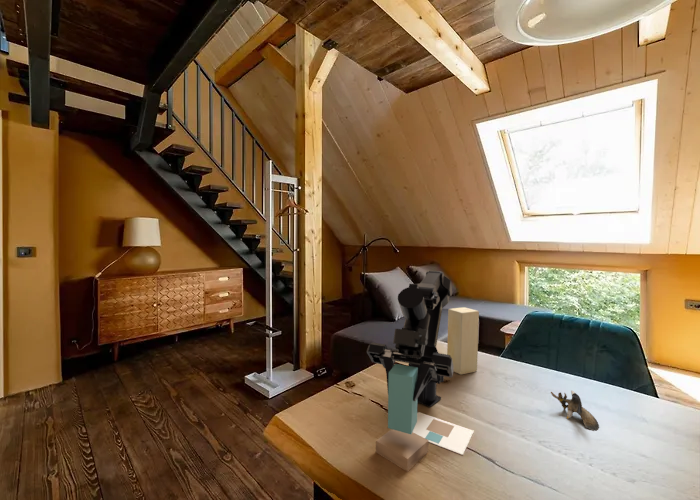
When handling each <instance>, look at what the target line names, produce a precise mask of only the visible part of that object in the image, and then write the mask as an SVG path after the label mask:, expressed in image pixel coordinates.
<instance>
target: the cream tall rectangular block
mask: <svg viewBox="0 0 700 500" xmlns="http://www.w3.org/2000/svg"><path fill="white" fill-rule="evenodd" d="M447 313H448V314H447V345H446V346H447V348H446V349H447V352H446V355H450V356H451V358H452V360H453V366H454V367H453V373H456V374H458V375H462V376H463V375H466V374H469V373H474V372H477V371H478V357H479V356H478V349H479V319H480V311H479V310H477V309H474V308H473V309H472V308H468V307H465V306H463V307H454V308H448V311H447Z"/></svg>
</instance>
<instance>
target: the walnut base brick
mask: <svg viewBox="0 0 700 500" xmlns="http://www.w3.org/2000/svg"><path fill="white" fill-rule="evenodd" d="M428 452H429V442H428V440H427V439H425V438H423V437H421V436H419V435H417V434H415V433H413V432H412V434H407V433H404V432H400V431H397V430H393V429H389V431H387V432H386V433H384V434H383V435H381V437H379V438H377V439H376V440H375V453H376V454H378V455H380V456H381V457H383V458H384V459H386V460H388V461H389V462H391V463H392V464H393V465H396V466H397V467H398V468H401V469H402V470H404V471H405V472H407V473H408V472H409V471H410V470H411V469H412V468H413V467H414V466H415V465H416V464H417V463H418V462H420V460H422V459H423V458H424V457H425V455H427V453H428Z"/></svg>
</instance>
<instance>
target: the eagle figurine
mask: <svg viewBox="0 0 700 500" xmlns="http://www.w3.org/2000/svg"><path fill="white" fill-rule="evenodd" d="M570 393H571V398H568V395H567V393H566V392H564V393H563V394H564V396H563V394H562V392H558V396H557V395H556V394H554V392H552V391H550V394H551V396H553V397H554V399H557V400H558V401H559V403H560V404H561V407H562V408H563V410H564V411H566V409H567V414H566V419H569V418H571V417H572V416H573V413H576V414H578V416H580V418H581V420H582V423H583V426H584V427H585V428H587V429H588V430H591V431H593V432H594V431H598V430H599V427H600V425H599V422H598V421H597V419H596V418H595V416H594V415H593V414H592V413H591V412H590V411H588V410H587V409H586V408H584V407H583V404H582V401H581V397H580V396H579V394H577V392H575V391H573V390H570Z"/></svg>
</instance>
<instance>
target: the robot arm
mask: <svg viewBox="0 0 700 500" xmlns="http://www.w3.org/2000/svg"><path fill="white" fill-rule="evenodd" d="M452 294H453V286H452V281H451V280H450V279H449V278H448V277H447V276H445V274H444V272H443V271H441V270H440V271H439V270H438V271H437V270H427V271H426V273H425V276H424V278H423V279H422V280H421V282H420V283H409V286H408V287H405V288H403V289H401V291H400V292H399V293H398V294H397V302H398V305H399V308H400V310H401V314H402V316H403V318H405V319H404V324H403V326H402V327H401V328H394V334H393V335H394V336H393V342H392V344H394V345H395V346H394V347H395V350H397V351H394V350H391V349H388V347H387V344H384V343H378V342H371V343H370V344H368V346H367V349H366V354H367V355H368V357H369V359H370V361H371V362H372V363H374V364H378V365H381V366H382V367H383V368H384V369H385V374H386V375H385V376H386V387H387V389H388V383H389V371H390V370H391V369H392V368H393V366H394V365H395V364H396V362H401V363H406V364H408V366H411V367H417V368H418V379H417V382H416V386H415V390H414V395H413V401H416V400H417V403H419V404H421V405H423V406H425V407H429V408H431V407H432V406H434V405H435V404H436V403H438V402H440V400H442V397H441V396H440V395H437V385H438V384H439V385H440V384H441V383H443V382H444V381H445V380H444V379H445V377H446V378H453V376H454V371H453V367H454V366H453V360H452V358H451V356H450V355H447V353H446V354H444V353H440V352H439V351H438V349H437V343H438V338H439V337H438V336H439V330H440V325H441V318H442V313H443V312H442V311H443V309H444V308H445V307H446V306H447V305H448V304H449V301H450V297H452Z"/></svg>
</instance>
